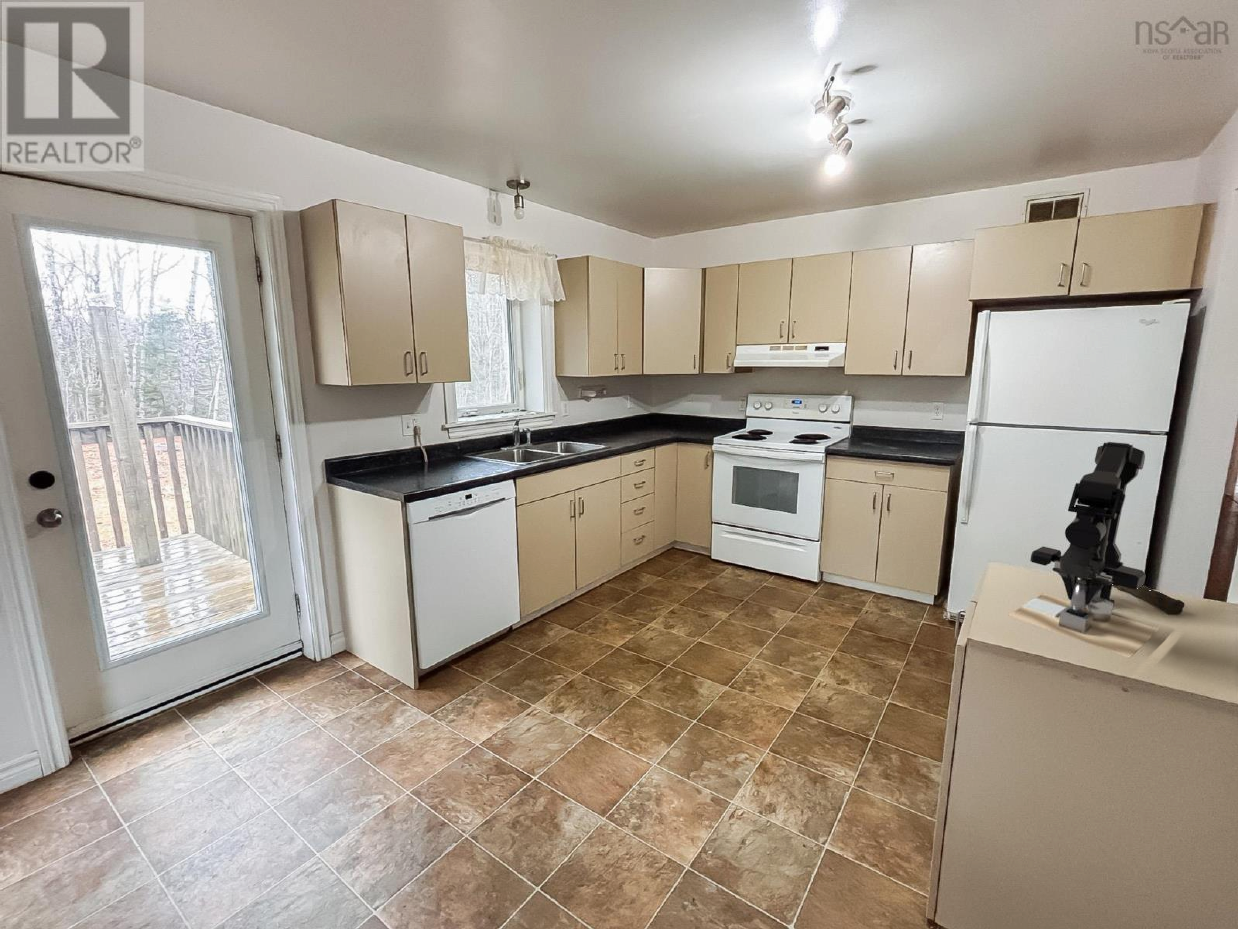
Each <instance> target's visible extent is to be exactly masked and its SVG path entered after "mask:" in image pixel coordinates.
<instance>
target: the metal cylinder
mask: <svg viewBox="0 0 1238 929" xmlns="http://www.w3.org/2000/svg"><path fill="white" fill-rule="evenodd" d="M1091 579H1092V578H1091V577H1089V576H1088V577H1087V578H1079V577H1077V576H1075V579H1074V585H1073V591H1072V597H1071V600H1070V602H1071V603H1070V609H1069V613H1071V614H1074V615H1077V616H1080V617H1083V618H1084V617H1085V613H1086V608H1087V605H1086V600H1087V596H1088V593H1089V590H1090V585H1091Z"/></svg>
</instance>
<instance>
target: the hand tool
mask: <svg viewBox="0 0 1238 929" xmlns="http://www.w3.org/2000/svg"><path fill="white" fill-rule="evenodd" d="M1113 586H1114V587H1113ZM1112 587H1113V588H1115V589H1116V588H1117V589H1116V590H1117V591H1120V592H1126V593H1129V594H1132V595H1133V596H1135V597H1137V598H1140V599H1142V600H1143V601H1144V602H1145V601H1146V602H1147V603H1149V604H1151V605H1153V606H1155V607H1157V608H1159V609H1161V610H1164V611H1165V613H1166V615H1168V616H1171V615H1175V616H1176V615H1180V614H1181V613H1182V612H1183V610H1184V608H1185V605H1186V604H1185V602H1184V601H1182V600H1180V599H1176V598H1172V597H1171V596H1169V595H1167V594H1164V593H1163V592H1161V591H1158V590H1155V589H1153V588H1151V587H1149V586H1147V585H1145V584H1142V585H1141V586H1140V587H1139V588H1138V589H1130V588H1127V587H1123V586H1116V585H1112ZM1149 590H1151V591H1149ZM1160 592H1161V593H1160Z"/></svg>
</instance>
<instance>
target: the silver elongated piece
mask: <svg viewBox="0 0 1238 929" xmlns="http://www.w3.org/2000/svg"><path fill="white" fill-rule="evenodd" d="M1100 593H1101V589H1100V591H1099V592H1098V593H1097V595H1096V596H1095V598H1094V599H1093V600H1092V602H1091V603H1090V604H1089V605H1087V608H1086V613H1085V617H1084V618H1083V617H1080V616H1077V615H1074V614H1071V613H1069V609H1070V606H1068V607H1066V608H1065V609H1064V610H1062V611H1061V613H1060V619H1059V626H1062V627H1065V628H1068V629H1070V630H1073V631H1076V632H1079V633H1082V634H1084V633H1085V632H1087V631H1088V630H1089V629H1090V628H1091V626H1092V621H1100V622H1106V621H1109V620H1111V614H1112V613H1113V608H1114V603H1113V604H1112V603H1111V602H1110V601H1108V600H1106V599H1104V598H1101V597H1100ZM1112 615H1113V614H1112Z"/></svg>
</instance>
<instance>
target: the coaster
mask: <svg viewBox="0 0 1238 929" xmlns="http://www.w3.org/2000/svg"><path fill="white" fill-rule="evenodd" d="M1023 606H1024V607H1025V608H1028V609H1031V610H1034V611H1037V612H1040V613H1043V614H1047V615H1050V616H1053V617H1056V616H1058V615H1059V614H1060V613H1061V611H1062V610H1064V609H1065V608H1066V607H1063V606H1060V605H1056V604H1053V603H1050V602H1047V601H1043V600H1040V599H1037V597H1034V598H1033V599H1031V600H1029V601H1028V602H1026V603H1024V604H1023Z"/></svg>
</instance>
